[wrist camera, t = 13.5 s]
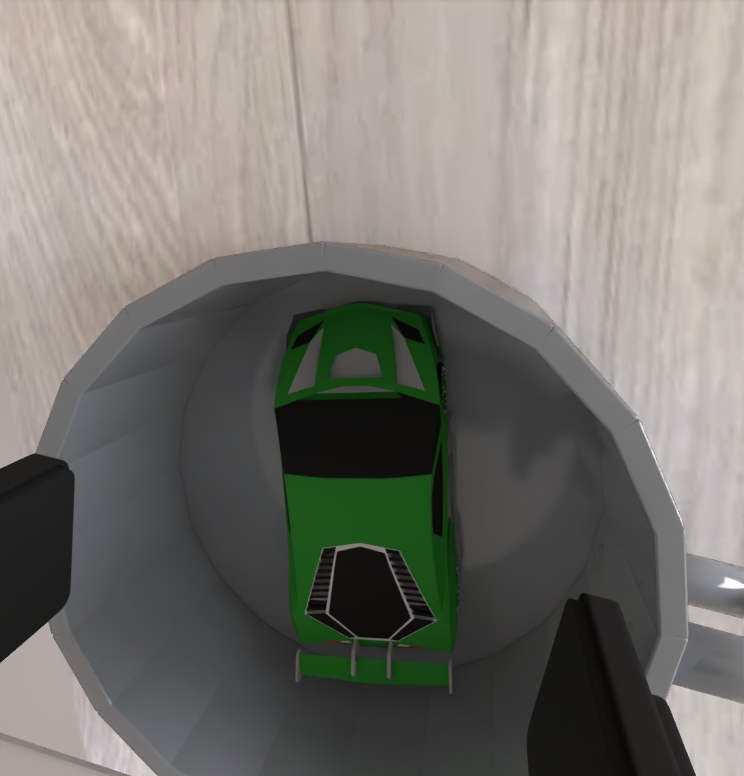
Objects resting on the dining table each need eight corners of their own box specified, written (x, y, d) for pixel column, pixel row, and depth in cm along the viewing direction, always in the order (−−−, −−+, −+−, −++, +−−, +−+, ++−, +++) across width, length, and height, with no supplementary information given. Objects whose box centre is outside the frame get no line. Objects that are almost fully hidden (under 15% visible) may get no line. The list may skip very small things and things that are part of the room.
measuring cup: (159, 608, 20) (22, 753, 14) (196, 209, 17) (37, 187, 11) (692, 767, 17) (790, 1024, 12) (863, 333, 14) (1121, 390, 8)
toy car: (277, 307, 16) (243, 315, 14) (451, 297, 15) (443, 304, 13) (311, 632, 18) (287, 683, 16) (466, 642, 17) (462, 698, 15)
